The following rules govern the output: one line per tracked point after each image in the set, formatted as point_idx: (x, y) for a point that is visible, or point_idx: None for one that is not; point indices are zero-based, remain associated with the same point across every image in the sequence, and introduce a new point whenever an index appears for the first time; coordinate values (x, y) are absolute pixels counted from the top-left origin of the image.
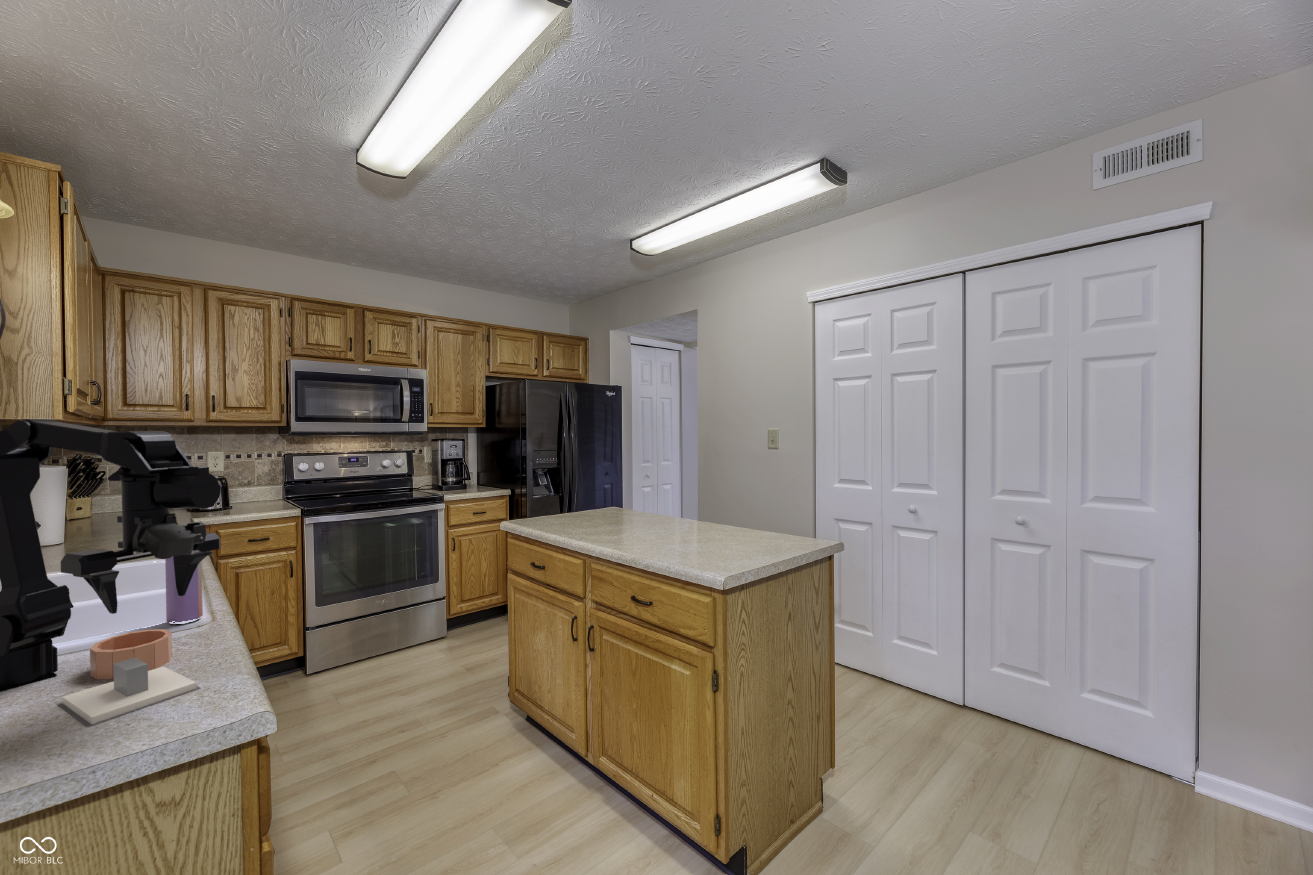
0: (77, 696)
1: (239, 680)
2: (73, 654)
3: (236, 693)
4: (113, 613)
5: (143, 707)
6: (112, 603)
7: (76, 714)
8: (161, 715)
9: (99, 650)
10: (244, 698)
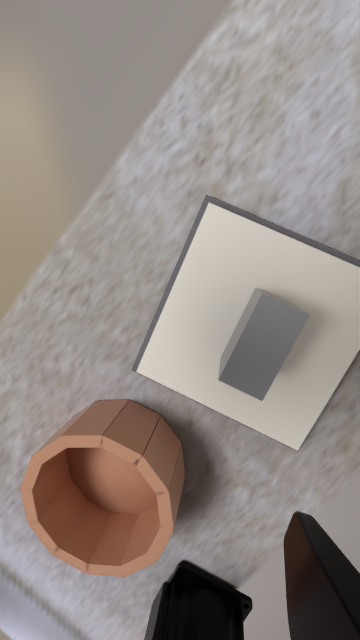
0: (295, 420)
1: (145, 154)
2: (83, 623)
3: (209, 92)
4: (310, 516)
5: (307, 243)
6: (352, 574)
7: None
8: (325, 178)
9: (165, 528)
10: (232, 41)
